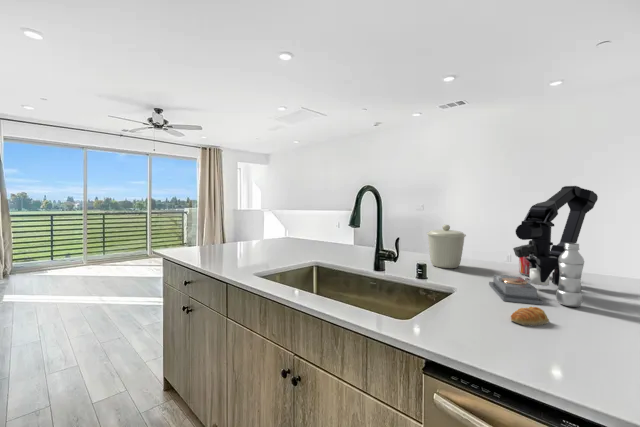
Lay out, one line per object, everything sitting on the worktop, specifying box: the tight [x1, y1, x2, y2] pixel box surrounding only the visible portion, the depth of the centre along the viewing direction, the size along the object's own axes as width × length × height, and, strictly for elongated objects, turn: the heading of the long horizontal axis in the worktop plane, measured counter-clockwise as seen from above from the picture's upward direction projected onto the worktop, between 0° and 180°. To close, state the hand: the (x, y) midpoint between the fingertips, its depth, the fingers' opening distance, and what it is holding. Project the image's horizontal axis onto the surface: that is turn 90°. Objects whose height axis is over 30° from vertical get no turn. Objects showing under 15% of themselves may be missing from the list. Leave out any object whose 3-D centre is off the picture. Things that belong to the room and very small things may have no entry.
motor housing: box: [488, 274, 543, 306], centre depth 106 cm, size 11×20×6 cm, turn 162°
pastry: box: [510, 306, 550, 327], centre depth 82 cm, size 9×7×4 cm
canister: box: [426, 224, 467, 269], centre depth 149 cm, size 18×18×21 cm
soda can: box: [518, 244, 532, 277], centre depth 133 cm, size 7×7×13 cm
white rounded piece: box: [529, 266, 551, 287], centre depth 111 cm, size 6×6×6 cm
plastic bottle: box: [555, 242, 585, 308], centre depth 94 cm, size 6×7×20 cm
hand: (539, 280), depth 111 cm, fingers closed on white rounded piece, 6 cm apart
